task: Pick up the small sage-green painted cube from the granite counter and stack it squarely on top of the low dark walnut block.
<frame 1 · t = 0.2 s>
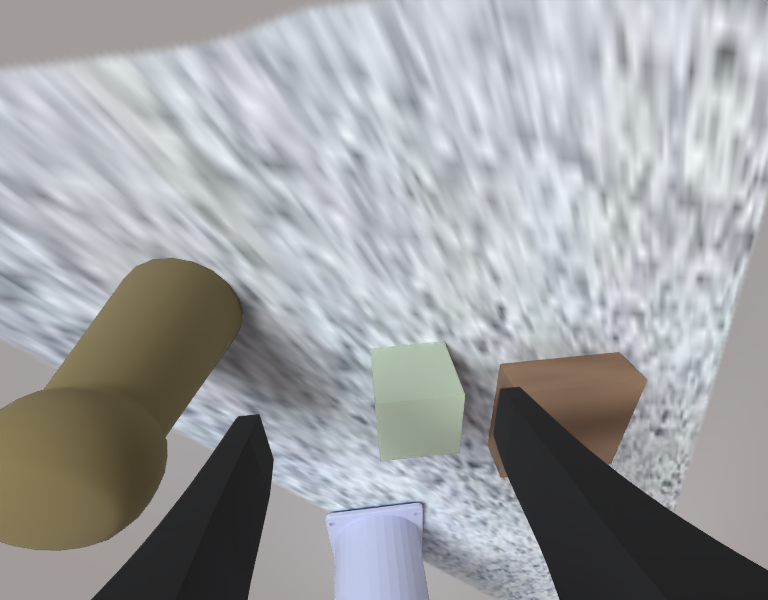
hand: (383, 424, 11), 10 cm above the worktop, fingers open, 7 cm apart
cork: (184, 308, 20), on the worktop
walnut block: (546, 398, 26), on the worktop
sage cube: (407, 372, 23), on the worktop
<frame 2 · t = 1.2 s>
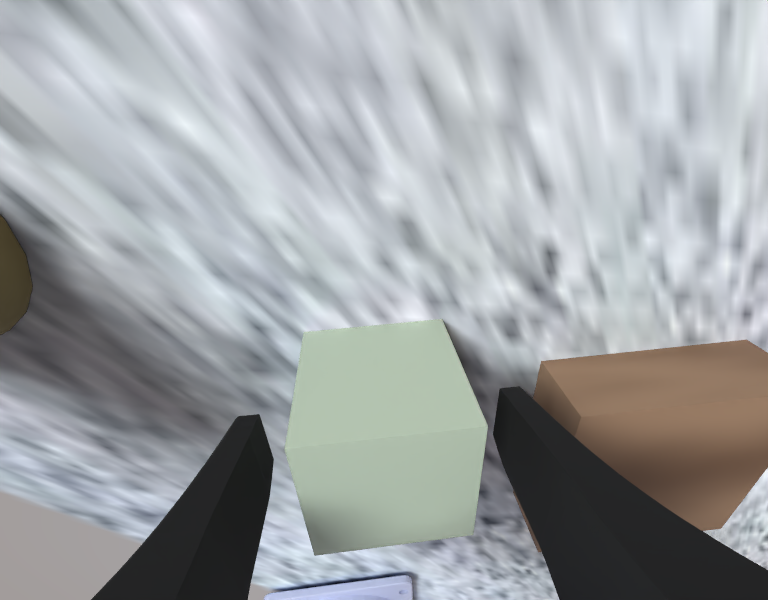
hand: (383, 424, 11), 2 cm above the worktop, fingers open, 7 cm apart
walnut block: (611, 418, 16), on the worktop
sage cube: (377, 376, 13), on the worktop
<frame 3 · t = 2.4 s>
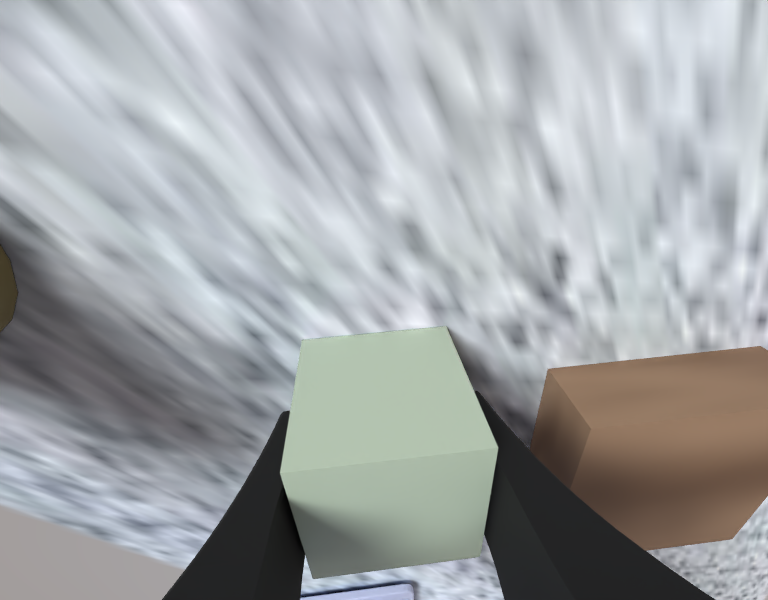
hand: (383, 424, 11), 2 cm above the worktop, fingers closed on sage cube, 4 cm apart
walnut block: (618, 425, 15), on the worktop
sage cube: (378, 386, 12), on the worktop, touching gripper
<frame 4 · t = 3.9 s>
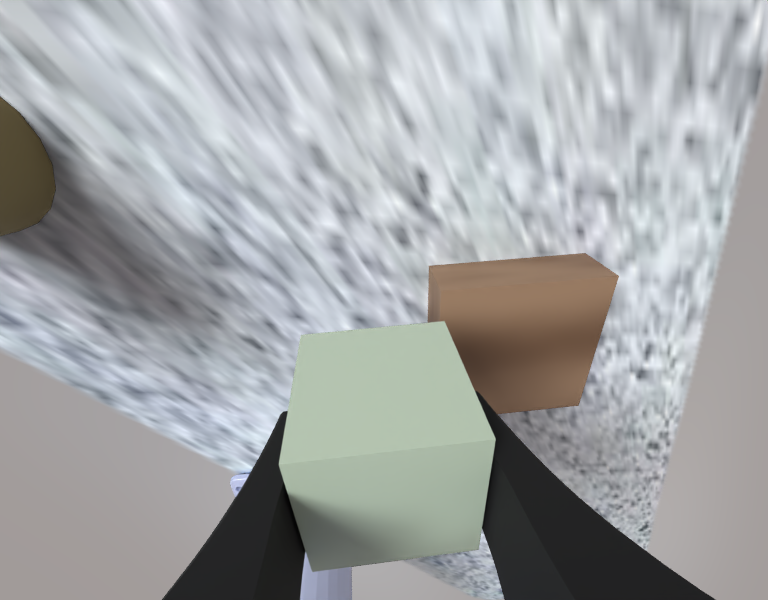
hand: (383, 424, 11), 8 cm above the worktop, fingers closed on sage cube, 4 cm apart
walnut block: (496, 321, 21), on the worktop
sage cube: (377, 381, 13), point 7 cm above the worktop, touching gripper
when the fingers open (6 cm above the worktop, at t = 5.8 s): sage cube drops 1 cm, point 3 cm above the worktop.
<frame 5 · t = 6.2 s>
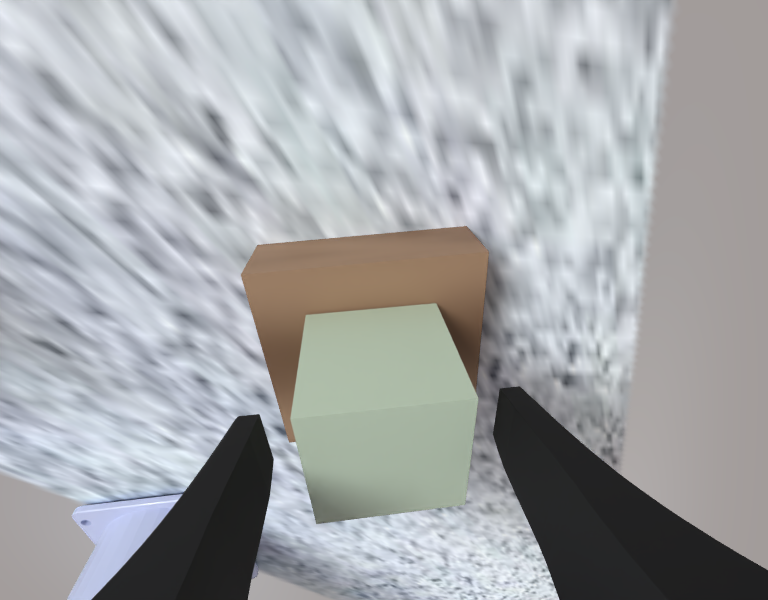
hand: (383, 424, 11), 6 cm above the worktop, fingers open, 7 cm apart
walnut block: (371, 316, 16), on the worktop
sage cube: (375, 359, 14), point 3 cm above the worktop
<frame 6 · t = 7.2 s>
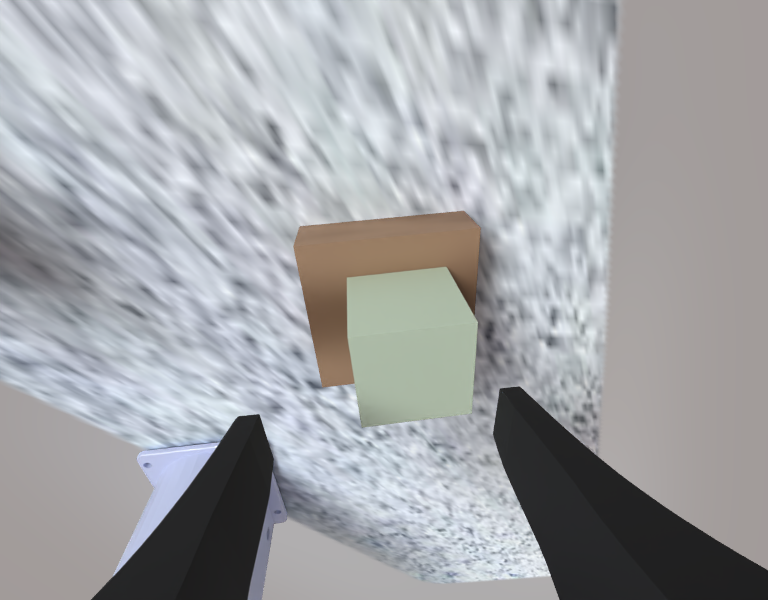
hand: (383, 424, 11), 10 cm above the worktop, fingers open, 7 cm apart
walnut block: (386, 286, 20), on the worktop, touching sage cube
sage cube: (399, 314, 17), point 3 cm above the worktop, touching walnut block
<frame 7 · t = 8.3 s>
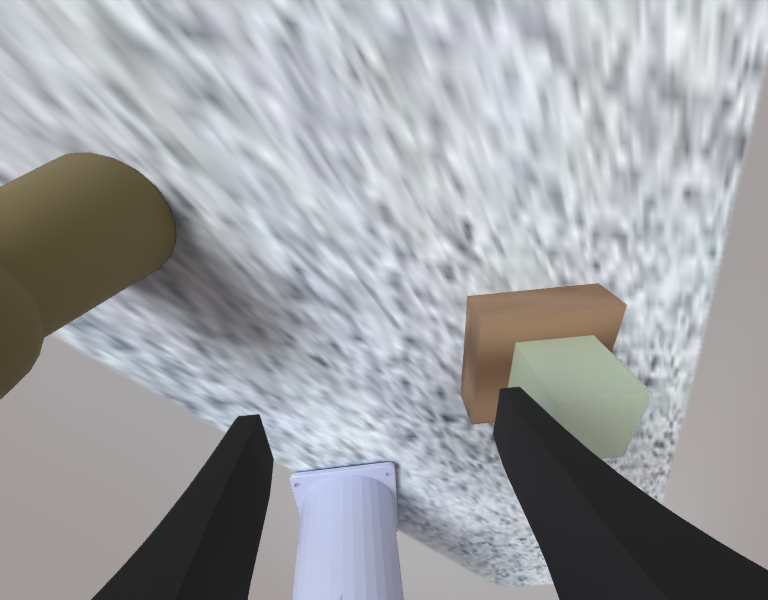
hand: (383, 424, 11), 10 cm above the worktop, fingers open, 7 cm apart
cork: (110, 218, 18), on the worktop
walnut block: (521, 339, 24), on the worktop
sage cube: (547, 369, 21), point 3 cm above the worktop
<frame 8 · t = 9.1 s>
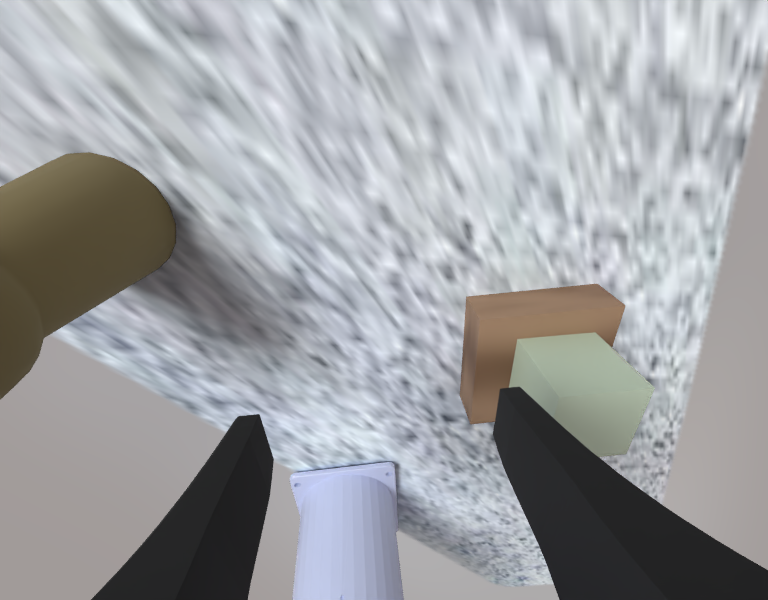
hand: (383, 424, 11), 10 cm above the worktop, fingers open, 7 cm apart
cork: (110, 218, 18), on the worktop
walnut block: (520, 339, 24), on the worktop, touching sage cube
sage cube: (549, 367, 21), point 3 cm above the worktop, touching walnut block
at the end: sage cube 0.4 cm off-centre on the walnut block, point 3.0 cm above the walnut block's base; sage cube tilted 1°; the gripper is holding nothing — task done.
